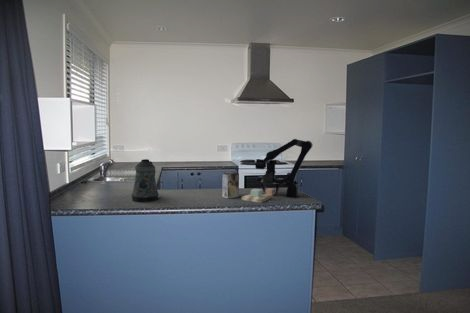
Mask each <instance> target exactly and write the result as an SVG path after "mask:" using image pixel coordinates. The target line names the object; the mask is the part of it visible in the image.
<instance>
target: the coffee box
mask: <svg viewBox="0 0 470 313" xmlns="http://www.w3.org/2000/svg"><path fill="white" fill-rule="evenodd" d="M221 175H222V190H221V191H222V198H225V199H232V198H238V197H240V195H239V194H240V193H239V191H240V189H239V188H240V186H239V184H240V182H239V181H240V180H239V179H240V177H239V176H240V174H239V172H235V171H229V172H222V173H221Z"/></svg>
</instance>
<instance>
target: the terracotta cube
mask: <svg viewBox="0 0 470 313" xmlns="http://www.w3.org/2000/svg"><path fill="white" fill-rule="evenodd" d="M274 194H276V188H269V187H268V188H265V195H271V196H272V197H273V196H274Z"/></svg>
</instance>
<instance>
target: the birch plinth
mask: <svg viewBox="0 0 470 313" xmlns="http://www.w3.org/2000/svg"><path fill="white" fill-rule="evenodd" d="M240 199H241V201H248V202H252V203H253V202H254V203H260V204H262V203H263V202H266V201H268V200H270V199H272V197H271V195H266V194H263V193H262V196H260V197H252V196H251V192H249V193H247V194H245V195H243V196H241V198H240Z"/></svg>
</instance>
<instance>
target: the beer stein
mask: <svg viewBox="0 0 470 313" xmlns="http://www.w3.org/2000/svg"><path fill="white" fill-rule="evenodd" d="M134 169H135V177H134V184H133V188H132V191H131V199H132V201H133V202H137V203H149V202H155V201H157V200H158V199H159V198H158V197H159V191H158V188H157V183H156V166H155V165H154V164H153V162H152V161H150V159H147V158H146V159H143V158H142V159H141V161H140V162H138V163H137V164H136V165H135V166H134Z"/></svg>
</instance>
